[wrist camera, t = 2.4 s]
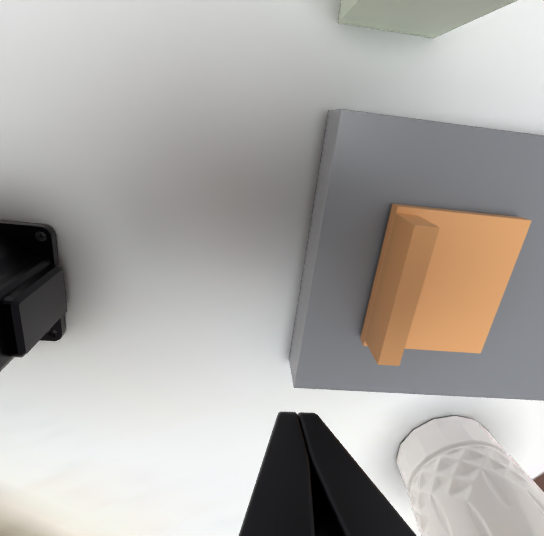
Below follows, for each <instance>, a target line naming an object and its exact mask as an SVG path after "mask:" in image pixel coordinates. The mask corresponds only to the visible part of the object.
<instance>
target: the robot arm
mask: <svg viewBox="0 0 544 536" xmlns="http://www.w3.org/2000/svg"><path fill="white" fill-rule="evenodd" d="M40 231H41V232H44V233H45V234H46V239H44V238H42V237H41V236H40ZM66 312H67V305H66V296H65V286H64V276H63V270H62V268H61V267H60V266H59V262H58V253H57V243H56V235H55V231H54V230H53V229H52V228H51V227H50V226H48V225H45V224H35V223H24V222H13V221H2V220H0V371H1V370H2V369H3V368H4V367H5V366H6V365H7V364H8V363H9V362H10V361H11V360H12V359H13V358H14V357H23V356H24V355H25V354H27V353H28V352H29V351H30V350H31V349H32V348H33V346H34V345H35V344H36V343H37V342H38V341H39V340H44V341H57V340H59V339H61V337H62V336H63V335H64V334H65V330H66V329H65V320H64V314H65V313H66ZM51 329H54V330H56V331H57V333H54V332H53V331H52V330H51ZM239 536H416V534H415V533H414V532H413V531H412V529H411V528H410V527H409V526H408V525H407V523H406V522H405V521H404V520H403V519H402V517H401V516H400V515H399V514H398V512H397V511H396V510H395V509H394V508H393V506H392V505H391V504H390V503H389V501H388V500H387V499H386V498H385V497H384V495H383V494H382V493H381V492H380V490H379V489H378V488H377V487H376V486H375V484H374V483H373V482H372V481H371V480H370V478H369V477H368V476H367V475H366V473H365V472H364V471H363V470H362V469H361V467H360V466H359V465H358V464H357V462H356V461H355V460H354V459H353V458H352V456H351V455H350V454H349V453H348V451H347V450H346V449H345V448H344V447H343V445H342V444H341V443H340V442H339V440H338V439H337V438H336V437H335V436H334V434H333V433H332V432H331V431H330V430H329V428H328V427H327V426H326V425H325V423H324V422H323V421H322V420H321V419H320V417H319V416H318V415H317V414H315V413H302V412H301V413H298V414H296V413H295V412H279V413H278V415H277V418H276V421H275V425H274V428H273V431H272V434H271V437H270V440H269V443H268V446H267V449H266V452H265V456H264V459H263V462H262V465H261V468H260V471H259V474H258V477H257V480H256V484H255V487H254V490H253V493H252V496H251V499H250V502H249V505H248V508H247V512H246V515H245V518H244V521H243V524H242V527H241V530H240V533H239Z"/></svg>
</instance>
